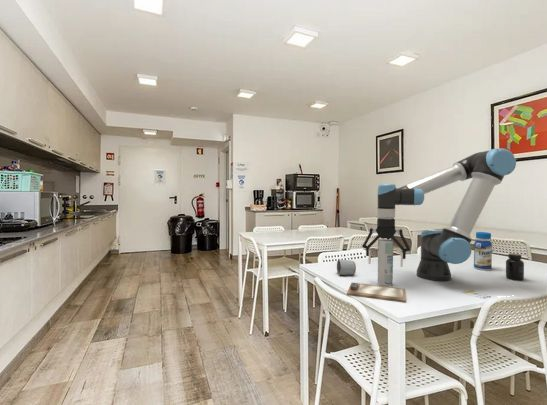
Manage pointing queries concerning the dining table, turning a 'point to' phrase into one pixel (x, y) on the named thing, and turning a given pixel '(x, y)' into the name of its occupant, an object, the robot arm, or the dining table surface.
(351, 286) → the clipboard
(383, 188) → the robot arm
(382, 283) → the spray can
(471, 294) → the dining table surface
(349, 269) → the grey cylinder
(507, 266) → the supplement bottle
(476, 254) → the beverage bottle
